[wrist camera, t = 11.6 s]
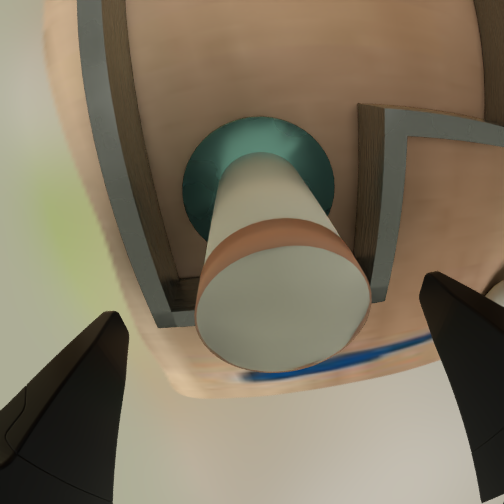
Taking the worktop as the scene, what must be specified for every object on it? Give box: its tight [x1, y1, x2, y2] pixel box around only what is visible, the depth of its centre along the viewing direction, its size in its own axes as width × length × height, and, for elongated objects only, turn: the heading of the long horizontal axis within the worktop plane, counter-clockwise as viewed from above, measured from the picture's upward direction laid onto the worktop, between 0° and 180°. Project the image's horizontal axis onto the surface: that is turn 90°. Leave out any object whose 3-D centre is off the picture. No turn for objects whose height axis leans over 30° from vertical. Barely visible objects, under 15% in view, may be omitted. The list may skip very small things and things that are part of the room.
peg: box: [194, 152, 372, 373], centre depth 11 cm, size 4×4×9 cm
